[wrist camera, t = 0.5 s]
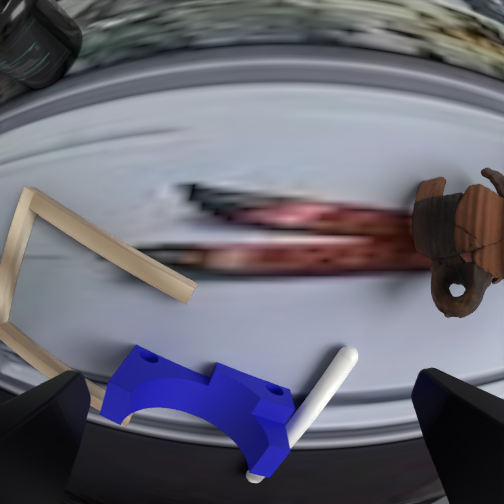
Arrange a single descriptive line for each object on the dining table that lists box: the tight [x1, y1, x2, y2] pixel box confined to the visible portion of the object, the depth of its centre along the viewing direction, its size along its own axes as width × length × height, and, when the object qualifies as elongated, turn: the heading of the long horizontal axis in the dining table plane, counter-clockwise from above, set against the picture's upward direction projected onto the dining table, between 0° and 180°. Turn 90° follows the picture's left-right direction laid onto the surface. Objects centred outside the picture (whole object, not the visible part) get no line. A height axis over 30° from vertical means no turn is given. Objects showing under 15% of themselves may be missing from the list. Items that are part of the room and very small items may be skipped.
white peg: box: [246, 346, 358, 483], centre depth 22 cm, size 16×2×2 cm, turn 151°
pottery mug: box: [412, 168, 504, 318], centre depth 19 cm, size 12×9×8 cm
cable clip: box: [100, 345, 295, 478], centre depth 19 cm, size 12×4×6 cm, turn 65°
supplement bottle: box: [0, 0, 82, 89], centre depth 13 cm, size 7×7×12 cm
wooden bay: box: [0, 187, 197, 426], centre depth 20 cm, size 13×15×2 cm
